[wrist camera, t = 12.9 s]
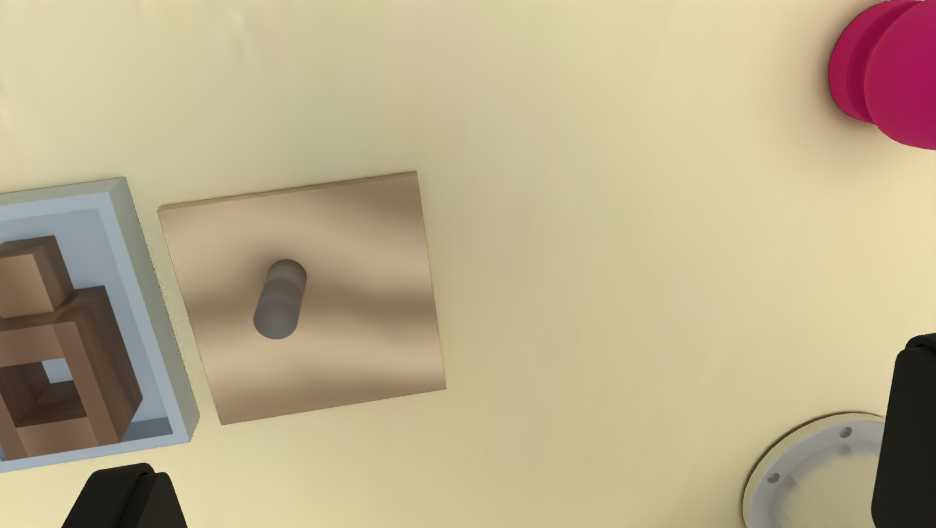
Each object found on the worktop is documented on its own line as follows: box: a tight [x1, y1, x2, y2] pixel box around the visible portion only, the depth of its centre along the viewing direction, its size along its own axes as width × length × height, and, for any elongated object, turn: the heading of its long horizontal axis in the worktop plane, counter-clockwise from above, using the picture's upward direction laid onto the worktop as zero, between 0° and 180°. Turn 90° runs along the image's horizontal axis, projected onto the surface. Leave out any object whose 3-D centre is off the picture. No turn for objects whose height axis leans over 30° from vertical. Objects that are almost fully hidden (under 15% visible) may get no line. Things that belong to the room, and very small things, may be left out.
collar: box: [0, 235, 143, 461], centre depth 34 cm, size 5×10×4 cm, turn 6°
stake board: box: [157, 171, 446, 425], centre depth 36 cm, size 13×13×6 cm
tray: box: [0, 177, 200, 473], centre depth 36 cm, size 14×10×2 cm
